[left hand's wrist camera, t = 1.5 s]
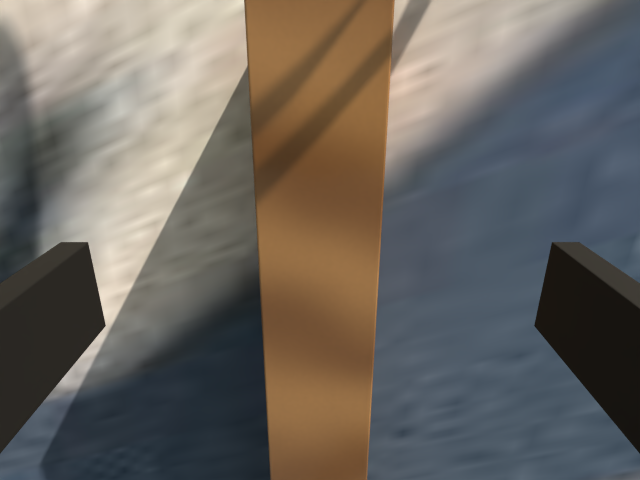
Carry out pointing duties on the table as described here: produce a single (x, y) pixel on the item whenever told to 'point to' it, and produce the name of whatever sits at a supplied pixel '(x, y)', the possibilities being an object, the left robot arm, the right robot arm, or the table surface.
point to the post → (319, 222)
